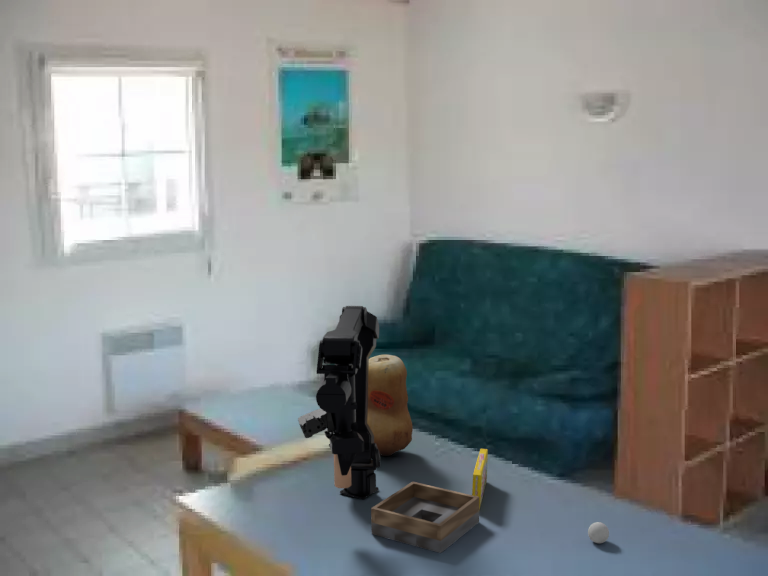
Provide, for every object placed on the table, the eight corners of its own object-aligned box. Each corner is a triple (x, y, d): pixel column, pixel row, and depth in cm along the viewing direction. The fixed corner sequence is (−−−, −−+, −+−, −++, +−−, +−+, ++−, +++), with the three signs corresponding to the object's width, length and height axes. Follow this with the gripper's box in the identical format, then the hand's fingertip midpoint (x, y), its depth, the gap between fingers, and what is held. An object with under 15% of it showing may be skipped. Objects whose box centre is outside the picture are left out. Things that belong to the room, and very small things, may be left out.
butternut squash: (352, 462, 222) (350, 363, 217) (363, 443, 235) (361, 349, 230) (409, 465, 219) (408, 364, 215) (416, 445, 232) (415, 350, 228)
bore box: (371, 533, 183) (371, 508, 182) (412, 505, 196) (412, 481, 195) (440, 553, 175) (440, 526, 174) (479, 522, 188) (479, 497, 187)
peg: (331, 485, 183) (330, 448, 181) (341, 480, 185) (340, 443, 184) (344, 489, 181) (343, 451, 179) (354, 483, 184) (353, 446, 182)
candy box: (481, 512, 193) (481, 475, 191) (471, 511, 193) (471, 474, 192) (488, 482, 208) (488, 448, 207) (478, 482, 209) (478, 447, 207)
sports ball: (605, 548, 175) (605, 529, 175) (584, 543, 177) (585, 524, 177) (611, 540, 179) (612, 521, 178) (591, 536, 181) (592, 517, 180)
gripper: (296, 386, 187) (298, 458, 190) (304, 414, 169) (307, 493, 172) (349, 382, 189) (351, 453, 192) (363, 410, 171) (365, 488, 174)
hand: (342, 471), depth 183 cm, fingers closed on peg, 3 cm apart
